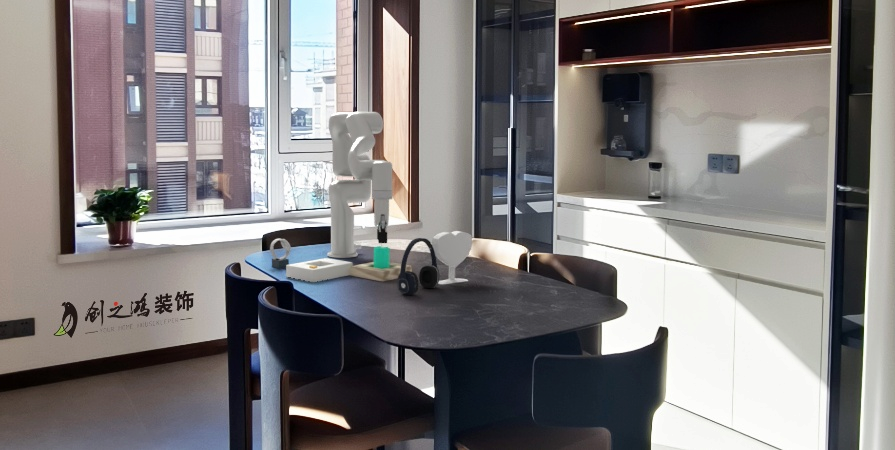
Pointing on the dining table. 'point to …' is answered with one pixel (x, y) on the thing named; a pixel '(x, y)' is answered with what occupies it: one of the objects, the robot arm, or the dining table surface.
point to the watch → (281, 261)
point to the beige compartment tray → (378, 271)
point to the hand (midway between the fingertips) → (382, 241)
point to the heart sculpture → (452, 251)
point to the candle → (381, 257)
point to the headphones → (427, 273)
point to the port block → (319, 269)
